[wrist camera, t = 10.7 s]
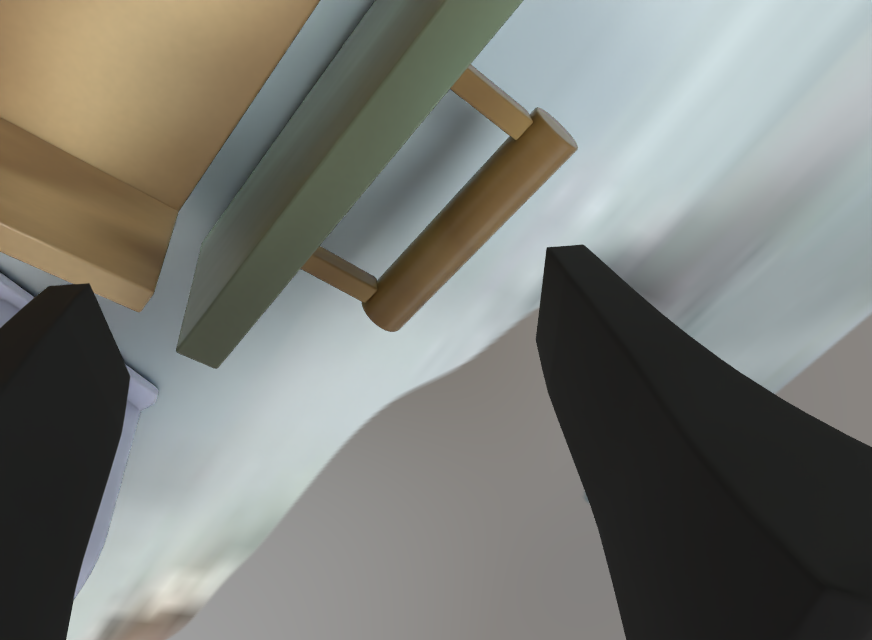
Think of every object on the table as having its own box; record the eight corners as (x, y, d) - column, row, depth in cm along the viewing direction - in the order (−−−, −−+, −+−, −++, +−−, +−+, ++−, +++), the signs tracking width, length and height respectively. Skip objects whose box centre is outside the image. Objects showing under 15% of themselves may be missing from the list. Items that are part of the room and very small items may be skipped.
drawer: (628, -7, 18) (706, 64, 14) (337, 313, 24) (339, 422, 20) (-85, -759, 10) (-334, -1051, 6) (-254, 10, 16) (-433, 98, 12)
